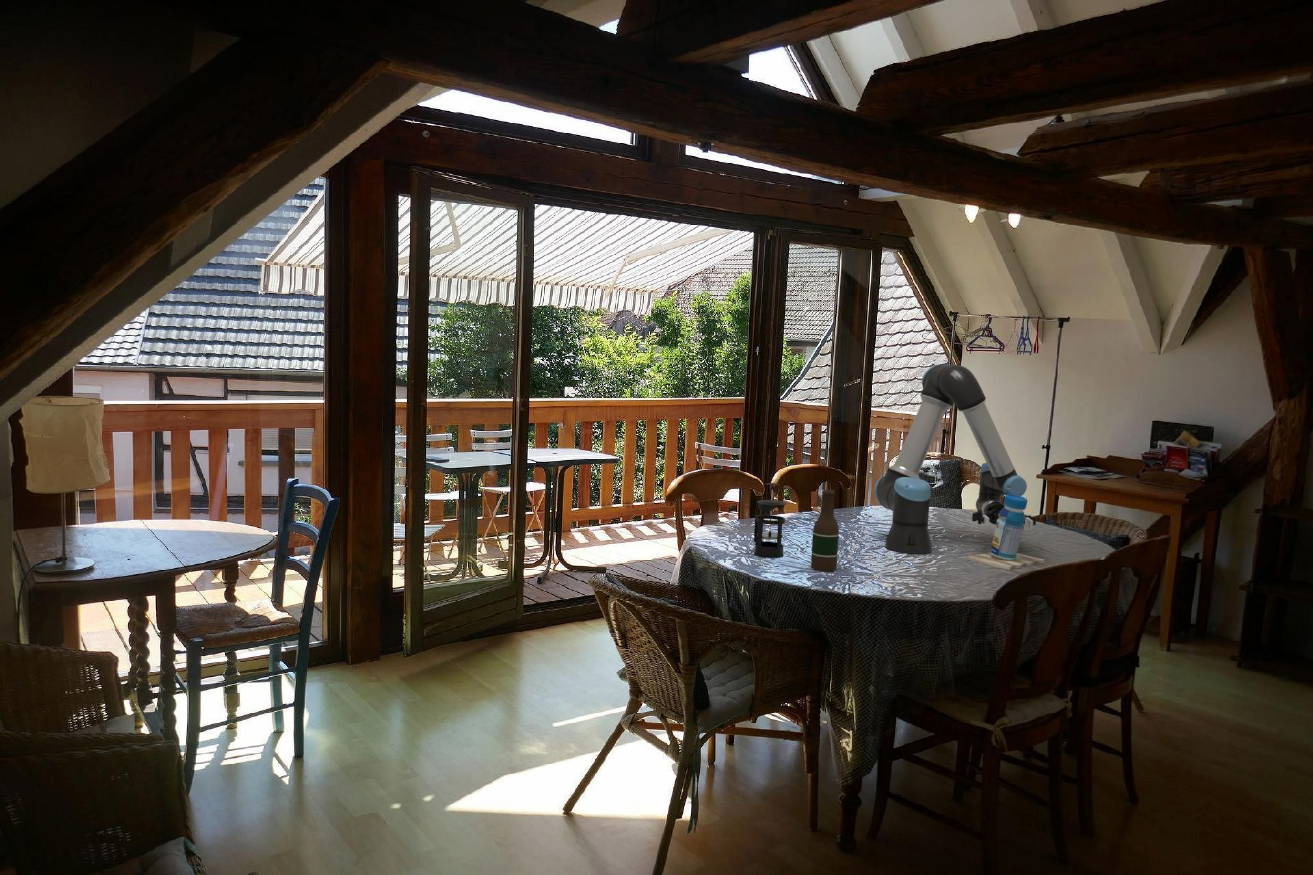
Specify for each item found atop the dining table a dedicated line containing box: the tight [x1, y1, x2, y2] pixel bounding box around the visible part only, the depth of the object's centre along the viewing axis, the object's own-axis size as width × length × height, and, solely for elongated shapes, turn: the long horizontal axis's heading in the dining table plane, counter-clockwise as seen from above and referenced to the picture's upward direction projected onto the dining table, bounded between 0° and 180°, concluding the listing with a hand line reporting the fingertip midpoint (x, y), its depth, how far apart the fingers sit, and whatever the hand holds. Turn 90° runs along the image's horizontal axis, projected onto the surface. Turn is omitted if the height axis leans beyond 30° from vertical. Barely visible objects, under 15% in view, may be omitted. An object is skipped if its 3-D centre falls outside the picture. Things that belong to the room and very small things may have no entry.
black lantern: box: [753, 482, 787, 559], centre depth 303 cm, size 12×9×23 cm
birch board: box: [966, 552, 1045, 571], centre depth 309 cm, size 20×15×1 cm
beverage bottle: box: [989, 494, 1028, 560], centre depth 307 cm, size 8×8×20 cm
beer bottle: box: [810, 489, 840, 573], centre depth 287 cm, size 8×8×24 cm
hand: (1009, 523), depth 307 cm, fingers open, 13 cm apart
